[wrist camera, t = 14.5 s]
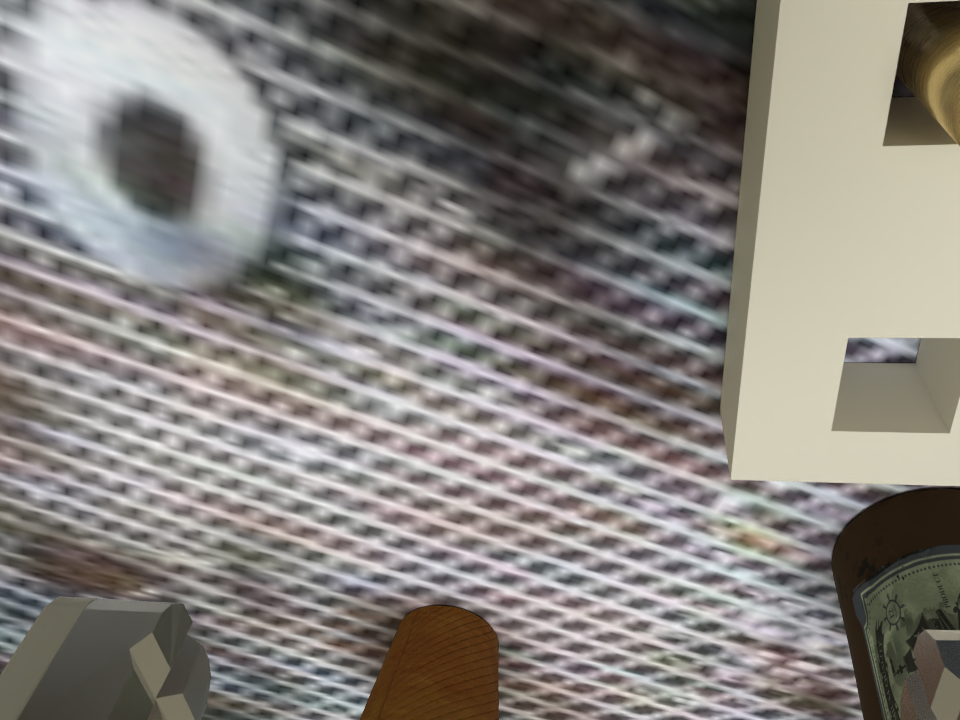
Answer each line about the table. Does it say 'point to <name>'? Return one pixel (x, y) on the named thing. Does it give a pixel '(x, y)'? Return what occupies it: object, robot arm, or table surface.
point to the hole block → (841, 258)
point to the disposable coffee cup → (438, 669)
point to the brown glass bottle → (897, 589)
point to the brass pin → (933, 60)
